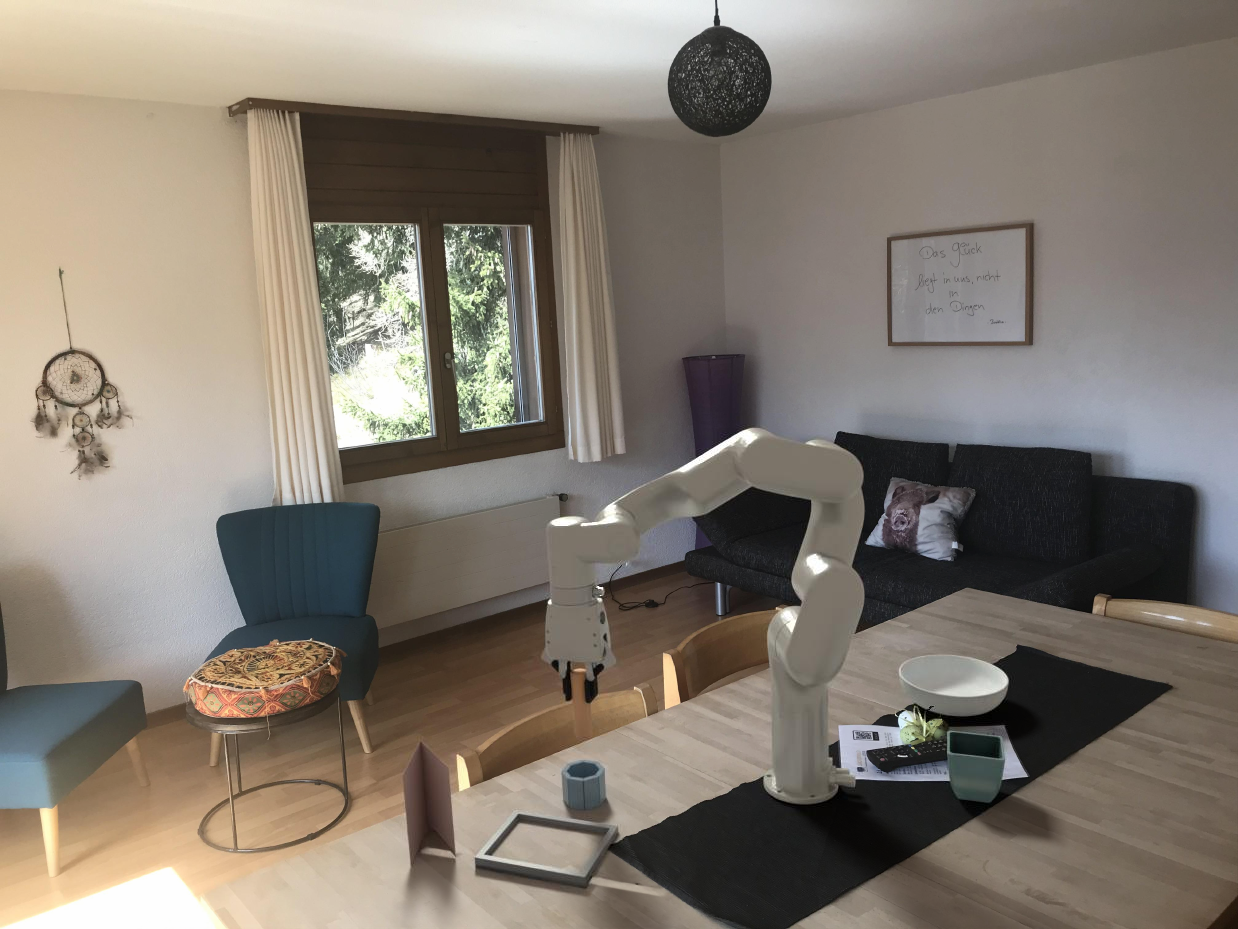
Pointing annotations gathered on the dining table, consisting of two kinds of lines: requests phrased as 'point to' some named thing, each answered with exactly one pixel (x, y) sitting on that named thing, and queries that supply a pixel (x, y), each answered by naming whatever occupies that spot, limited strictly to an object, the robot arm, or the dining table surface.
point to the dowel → (580, 705)
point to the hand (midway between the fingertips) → (581, 698)
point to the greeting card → (427, 798)
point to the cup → (583, 784)
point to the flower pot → (975, 765)
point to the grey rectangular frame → (543, 871)
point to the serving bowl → (953, 684)
